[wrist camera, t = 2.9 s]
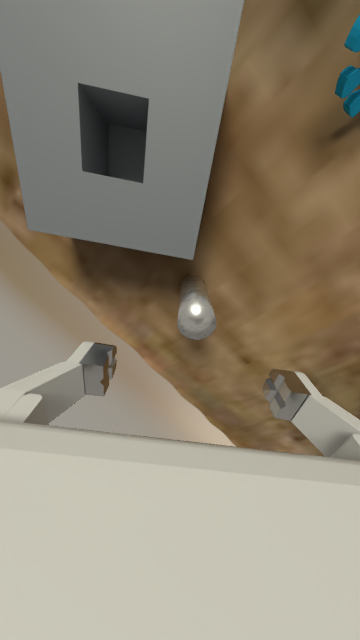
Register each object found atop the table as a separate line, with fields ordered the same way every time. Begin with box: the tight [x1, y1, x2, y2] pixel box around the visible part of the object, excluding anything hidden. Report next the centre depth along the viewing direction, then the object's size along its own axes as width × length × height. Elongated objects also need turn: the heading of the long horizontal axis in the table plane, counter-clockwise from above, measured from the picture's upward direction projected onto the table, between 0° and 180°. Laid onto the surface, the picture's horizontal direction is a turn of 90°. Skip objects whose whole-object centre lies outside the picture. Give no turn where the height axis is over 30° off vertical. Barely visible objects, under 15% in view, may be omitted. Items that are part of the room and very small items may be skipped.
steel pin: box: [177, 274, 216, 340], centre depth 19 cm, size 3×3×10 cm
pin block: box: [0, 0, 244, 260], centre depth 16 cm, size 14×14×6 cm
